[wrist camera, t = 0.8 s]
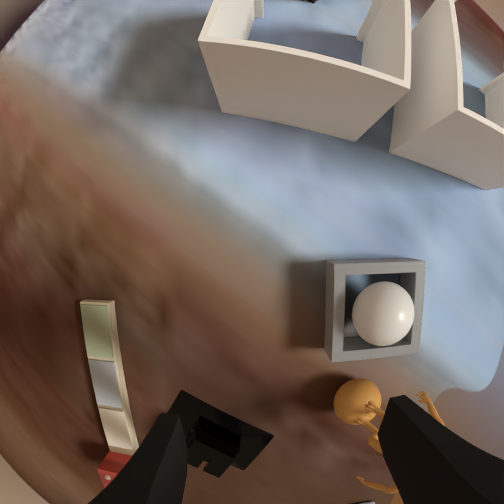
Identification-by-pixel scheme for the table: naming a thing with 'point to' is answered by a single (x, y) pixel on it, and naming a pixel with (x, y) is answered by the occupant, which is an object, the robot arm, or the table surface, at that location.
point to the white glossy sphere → (383, 313)
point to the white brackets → (365, 86)
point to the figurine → (368, 413)
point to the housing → (335, 307)
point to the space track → (108, 385)
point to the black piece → (217, 436)
